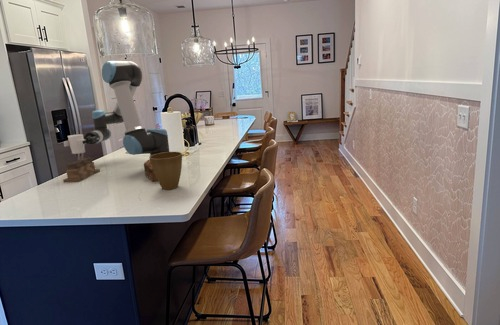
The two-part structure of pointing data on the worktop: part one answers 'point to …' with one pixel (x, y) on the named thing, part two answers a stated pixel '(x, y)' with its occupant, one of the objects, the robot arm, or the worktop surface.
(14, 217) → the worktop surface
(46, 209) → the worktop surface
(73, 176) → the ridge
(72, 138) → the white cup
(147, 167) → the bread
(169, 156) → the plant pot
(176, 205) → the worktop surface
